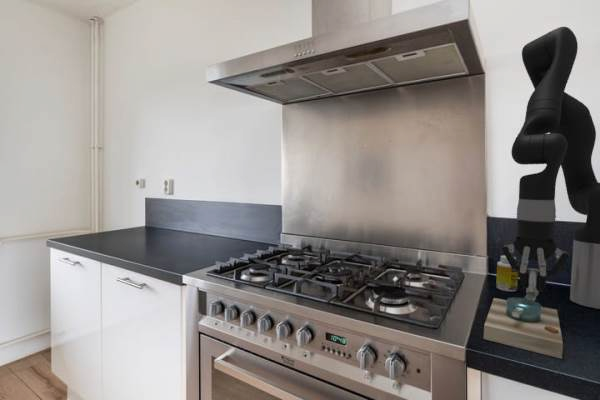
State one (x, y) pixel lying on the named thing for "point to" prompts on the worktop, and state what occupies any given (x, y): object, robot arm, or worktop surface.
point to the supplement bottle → (506, 276)
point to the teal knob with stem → (526, 301)
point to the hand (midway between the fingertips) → (532, 288)
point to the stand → (524, 330)
